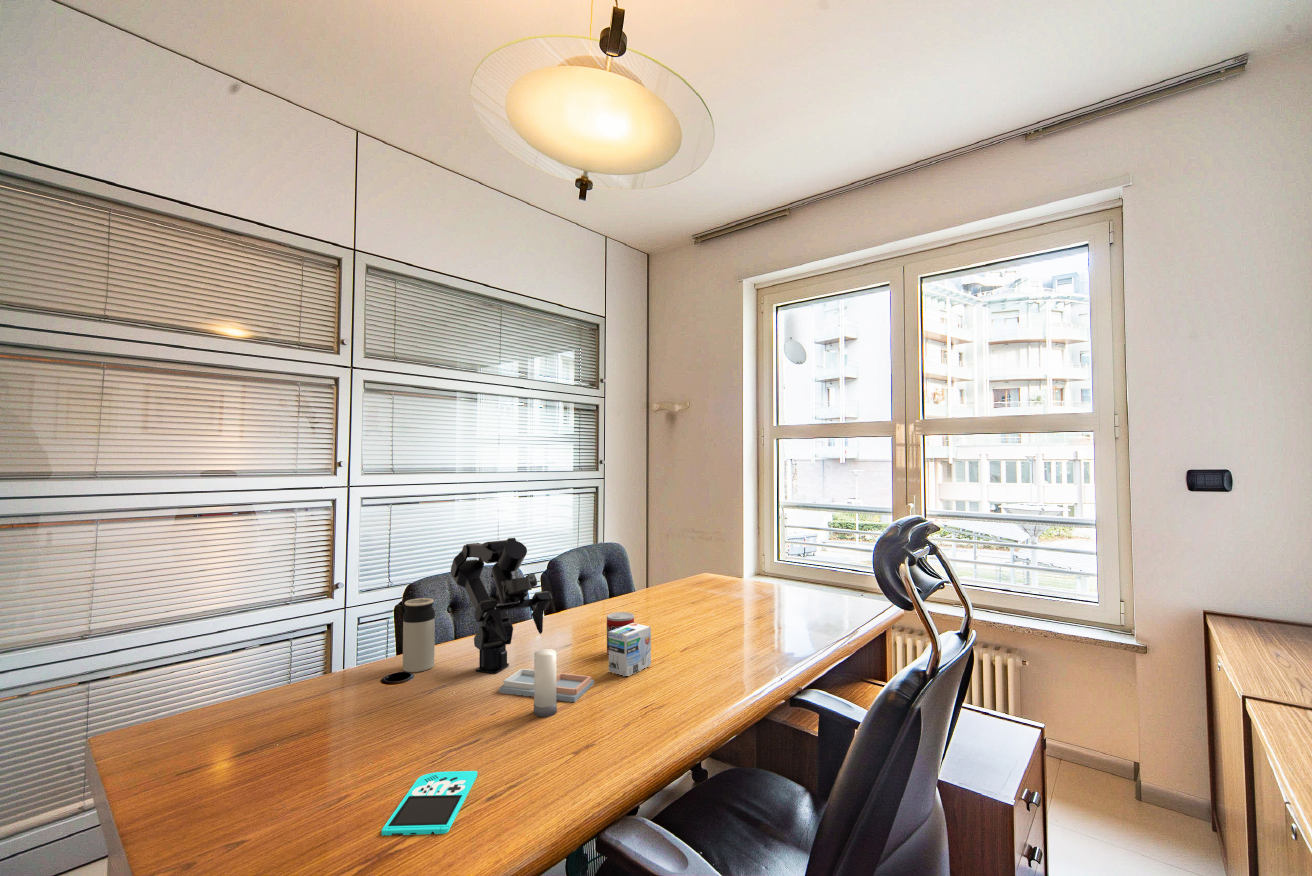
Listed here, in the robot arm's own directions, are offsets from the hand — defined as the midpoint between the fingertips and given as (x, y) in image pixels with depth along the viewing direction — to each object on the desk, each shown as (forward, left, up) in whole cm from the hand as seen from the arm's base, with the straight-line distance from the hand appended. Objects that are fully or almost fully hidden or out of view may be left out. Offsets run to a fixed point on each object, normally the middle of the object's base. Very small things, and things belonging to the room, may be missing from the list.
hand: (523, 636), depth 135 cm
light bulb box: (+20, +21, -13) cm, 32 cm away
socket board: (+5, +3, -13) cm, 14 cm away
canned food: (+13, +32, -13) cm, 37 cm away
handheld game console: (+10, -44, -14) cm, 47 cm away
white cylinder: (+11, -9, -13) cm, 19 cm away
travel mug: (-36, +6, -13) cm, 39 cm away
